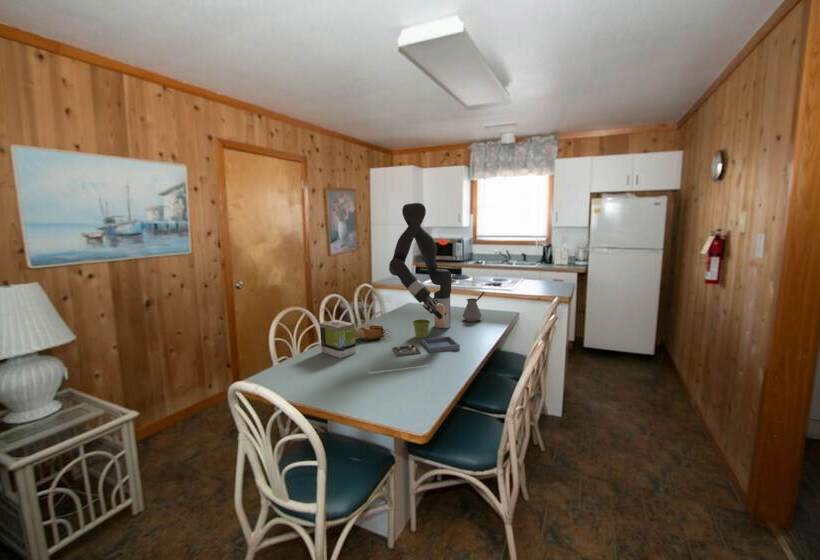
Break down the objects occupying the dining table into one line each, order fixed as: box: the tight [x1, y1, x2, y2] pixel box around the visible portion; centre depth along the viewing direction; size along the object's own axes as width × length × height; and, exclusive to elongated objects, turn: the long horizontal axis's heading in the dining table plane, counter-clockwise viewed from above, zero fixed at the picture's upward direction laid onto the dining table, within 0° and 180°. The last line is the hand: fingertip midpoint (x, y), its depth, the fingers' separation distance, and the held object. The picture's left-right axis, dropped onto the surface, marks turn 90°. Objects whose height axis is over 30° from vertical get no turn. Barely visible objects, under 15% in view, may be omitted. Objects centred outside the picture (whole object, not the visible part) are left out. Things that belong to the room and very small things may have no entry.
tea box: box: [319, 319, 357, 359], centre depth 188 cm, size 15×10×15 cm, turn 47°
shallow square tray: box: [421, 335, 461, 353], centre depth 193 cm, size 15×15×2 cm
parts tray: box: [392, 344, 421, 357], centre depth 187 cm, size 11×11×2 cm
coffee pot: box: [462, 291, 487, 323], centre depth 242 cm, size 21×12×15 cm, turn 141°
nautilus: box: [355, 323, 392, 341], centre depth 207 cm, size 8×22×15 cm
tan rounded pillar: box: [433, 303, 445, 328], centre depth 190 cm, size 5×5×11 cm
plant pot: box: [412, 318, 431, 339], centre depth 208 cm, size 9×9×9 cm
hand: (443, 316), depth 190 cm, fingers closed on tan rounded pillar, 5 cm apart
